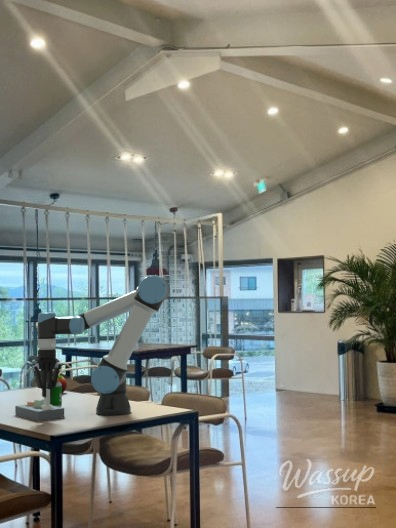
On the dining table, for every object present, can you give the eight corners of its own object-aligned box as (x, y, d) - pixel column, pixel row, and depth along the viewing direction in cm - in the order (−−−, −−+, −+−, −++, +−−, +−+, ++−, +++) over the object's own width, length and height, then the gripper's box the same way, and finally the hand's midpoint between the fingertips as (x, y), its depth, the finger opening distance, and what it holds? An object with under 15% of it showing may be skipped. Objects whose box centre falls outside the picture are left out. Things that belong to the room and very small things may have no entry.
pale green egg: (46, 411, 283) (46, 400, 283) (37, 412, 280) (37, 401, 280) (41, 410, 286) (41, 399, 286) (32, 411, 283) (32, 400, 284)
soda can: (57, 409, 300) (57, 383, 301) (42, 409, 302) (42, 383, 303) (64, 407, 308) (64, 381, 309) (49, 407, 309) (49, 381, 310)
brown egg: (39, 413, 288) (39, 401, 288) (29, 414, 285) (29, 403, 286) (34, 412, 291) (34, 400, 292) (25, 413, 289) (25, 402, 289)
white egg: (54, 417, 277) (54, 405, 278) (44, 418, 275) (44, 406, 275) (49, 416, 281) (49, 404, 281) (39, 417, 278) (39, 405, 278)
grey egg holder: (64, 417, 278) (64, 408, 279) (38, 421, 271) (38, 411, 271) (40, 411, 295) (40, 402, 295) (15, 415, 288) (15, 405, 288)
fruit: (61, 391, 366) (60, 373, 367) (70, 393, 358) (70, 374, 359) (43, 393, 360) (43, 375, 360) (52, 395, 351) (52, 376, 352)
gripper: (56, 347, 287) (56, 402, 285) (28, 349, 278) (28, 405, 277) (64, 348, 281) (65, 403, 279) (36, 349, 272) (36, 407, 271)
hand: (46, 404), depth 278 cm, fingers closed
